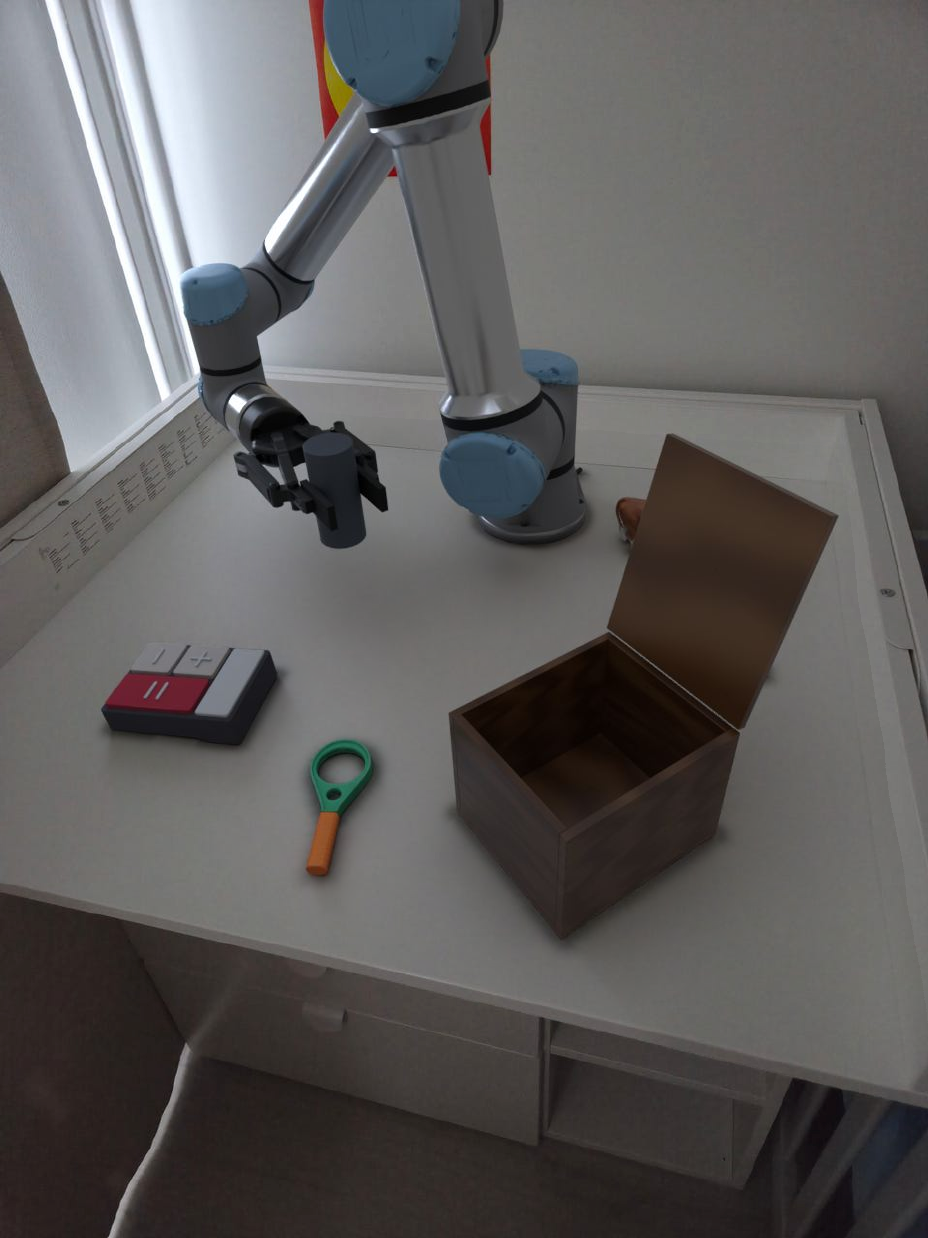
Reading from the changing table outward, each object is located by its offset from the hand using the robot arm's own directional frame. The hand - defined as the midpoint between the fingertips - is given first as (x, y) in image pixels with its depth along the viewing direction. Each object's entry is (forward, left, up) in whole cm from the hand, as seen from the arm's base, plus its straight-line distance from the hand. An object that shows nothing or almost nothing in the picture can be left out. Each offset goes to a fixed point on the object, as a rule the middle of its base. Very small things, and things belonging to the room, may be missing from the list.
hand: (358, 508), depth 81 cm
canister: (0, -5, -6) cm, 8 cm away
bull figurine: (-40, +4, -20) cm, 45 cm away
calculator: (+20, -6, -20) cm, 29 cm away
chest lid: (-15, +31, +3) cm, 35 cm away
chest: (-4, +31, -20) cm, 37 cm away
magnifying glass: (+14, +16, -20) cm, 29 cm away
